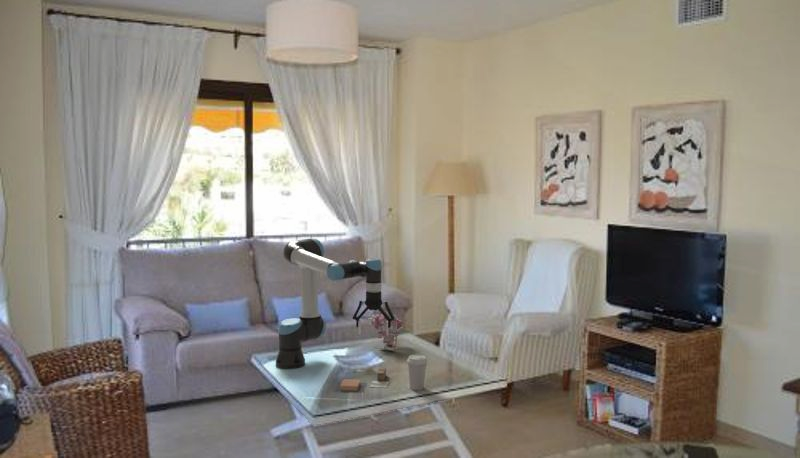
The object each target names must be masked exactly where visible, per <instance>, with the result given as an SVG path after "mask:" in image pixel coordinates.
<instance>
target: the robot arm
mask: <svg viewBox="0 0 800 458" xmlns="http://www.w3.org/2000/svg"><path fill="white" fill-rule="evenodd" d="M282 253H283V259H285V261H287V262H288V263H289V264H291V265H295V266H298V267H300V283H301V284H300V286H301V288H300V289H301V291H300V293H301V313H300V314H299V317H298V318H297V317H293V318H286V319H284V320H282V321H281V322H280V323H279V324H278V329H277V330H278V352H277V356H276V359H275V366H276V368H279V369H286V370H290V369H291V370H292V369H293V370H294V369H298V368H301V367H303V366H305V365H306V359H305V356H304V353H303V349H302V344H303V343H305V342H309V341H312V340H313V341H314V340H317V339H319V338H322V337H323V336H324V335H325V333H326V330H327V322H326V321H325V318H324V316H322V314H321V312H319V296H318V295H319V294H318V291H319V289H318V272H319V273H320V274H323V275H325V276H327V278H328V279H329V280H330V281H342V280H347V279H352V278H358V277H359V278H360V277H361V278H365V290H366V291H365V300H362V299H360V300H359V302H358V306H357V308H356V310H355V312H354V314H353V316H352V320H355V322H356V323H355V325H356V327H357V329H358V335H361V333H362V330H361V329H362V319H361V318H362V317H363V316H364V315H365V314H366V312H367V311H368V310H370V311H378V312H380V313H381V314H383V316H384V317H385V318H386V319H387V320H388V321H387V322H386V328H385V330H386V335H387V336H388V335H389V332H390V329H389V328H390V327H391V321H393V320H394V319H395V318H394V316H393V314H394V313H393V311H392V310H391V308H390V306H389V301H388V300H385V301H382V283H383V282H382V272H383V269H382V268H383V267H382V261H381V258H367V259H365V261H362V260H357V259H353V260H349V261H348V262H344V263H343V262H342V263H339V262H338V261H334V260H332V259H329V258H326V257H324V256H325V248H324V244H322V242H321V241H320V240H319V239H317V238H303V239H297V240H296V239H295V240H291V241H289V242H287V244H286V245H285V246H284V248H283V252H282ZM364 305H365V306H366V307H365V308H364V309H363V310H362V311H361V313H359V311H360V310H361V308H362V306H364ZM382 305H383V306H384V307H385V309H386V310H385V311H386V312H387V311H388V313H389V315H390V317H391V318H390V317H389V316H388V315H387V314H386V312H385V311H384V308H383V307H382ZM358 313H359V315H358ZM357 315H358V316H357Z"/></svg>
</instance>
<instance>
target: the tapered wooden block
mask: <svg viewBox="0 0 800 458" xmlns="http://www.w3.org/2000/svg"><path fill="white" fill-rule="evenodd" d="M376 375H377V380H372V381H371V383H370V386H369V388H374V389H387V388H388V386H389V383H390V382H389V381H385V379H386V376H387V366H379V368H378V372H377V374H376Z"/></svg>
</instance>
